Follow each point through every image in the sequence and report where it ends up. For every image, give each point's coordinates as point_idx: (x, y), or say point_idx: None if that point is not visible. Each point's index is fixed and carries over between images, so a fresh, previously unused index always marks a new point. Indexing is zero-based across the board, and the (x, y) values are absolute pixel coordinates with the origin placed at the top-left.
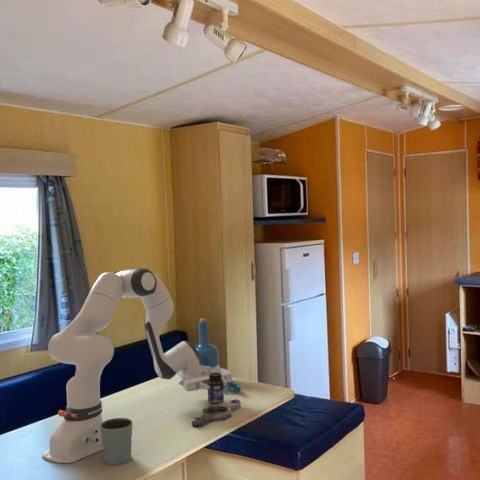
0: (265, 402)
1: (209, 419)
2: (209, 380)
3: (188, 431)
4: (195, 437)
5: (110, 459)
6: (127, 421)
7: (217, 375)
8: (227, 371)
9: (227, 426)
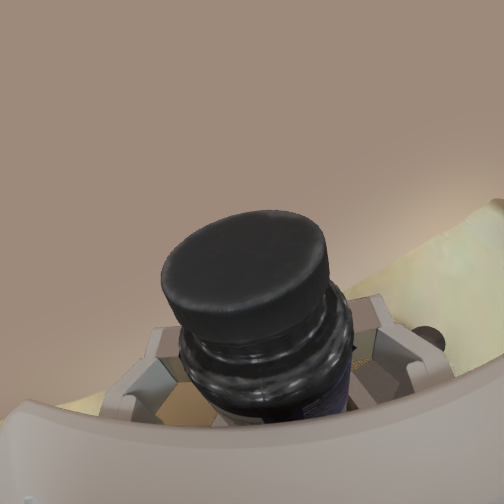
0: None
1: (361, 370)
2: (327, 316)
3: (450, 324)
4: (426, 280)
5: None
6: None
7: (245, 213)
8: (3, 444)
9: None
